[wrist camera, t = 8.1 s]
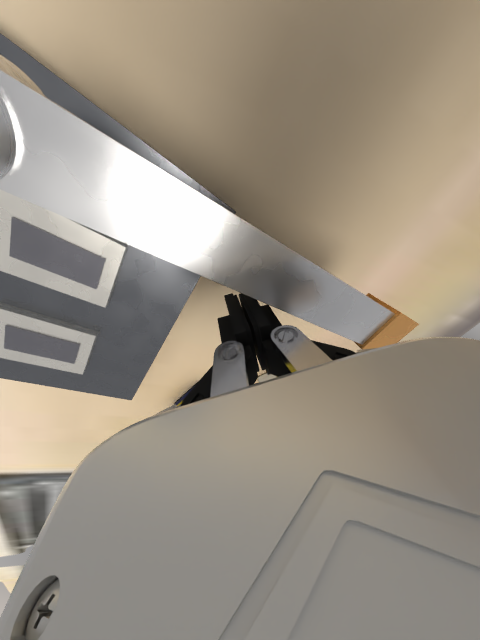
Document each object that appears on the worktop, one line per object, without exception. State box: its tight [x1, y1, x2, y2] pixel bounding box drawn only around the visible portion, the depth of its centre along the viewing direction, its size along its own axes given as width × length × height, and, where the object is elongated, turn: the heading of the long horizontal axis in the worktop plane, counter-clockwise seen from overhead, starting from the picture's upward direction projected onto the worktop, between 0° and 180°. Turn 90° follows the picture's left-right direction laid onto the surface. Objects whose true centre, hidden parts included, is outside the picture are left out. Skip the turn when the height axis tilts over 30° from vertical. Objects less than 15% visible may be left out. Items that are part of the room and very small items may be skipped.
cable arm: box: [0, 55, 419, 349], centre depth 8 cm, size 20×3×2 cm, turn 61°
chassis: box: [0, 33, 236, 400], centre depth 12 cm, size 22×16×6 cm
